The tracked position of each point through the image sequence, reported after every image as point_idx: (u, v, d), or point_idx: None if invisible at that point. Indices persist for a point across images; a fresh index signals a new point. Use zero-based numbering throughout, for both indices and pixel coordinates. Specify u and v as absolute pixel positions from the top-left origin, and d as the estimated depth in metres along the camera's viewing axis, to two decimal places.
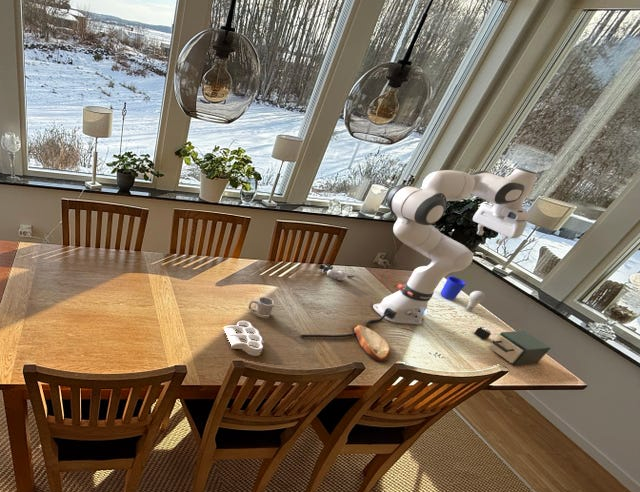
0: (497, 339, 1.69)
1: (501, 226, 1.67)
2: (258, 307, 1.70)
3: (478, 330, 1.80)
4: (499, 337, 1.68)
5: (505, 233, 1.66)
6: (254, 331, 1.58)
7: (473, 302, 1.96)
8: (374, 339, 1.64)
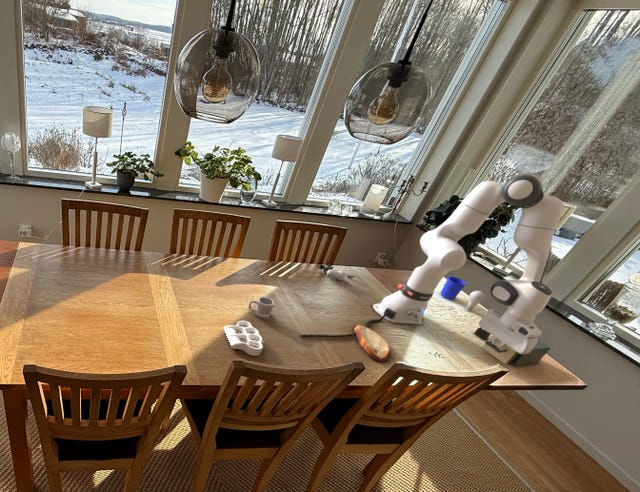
0: (490, 339, 1.68)
1: (510, 338, 1.57)
2: (258, 307, 1.70)
3: (478, 330, 1.80)
4: None
5: (514, 347, 1.56)
6: (254, 331, 1.58)
7: (473, 302, 1.96)
8: (374, 339, 1.64)
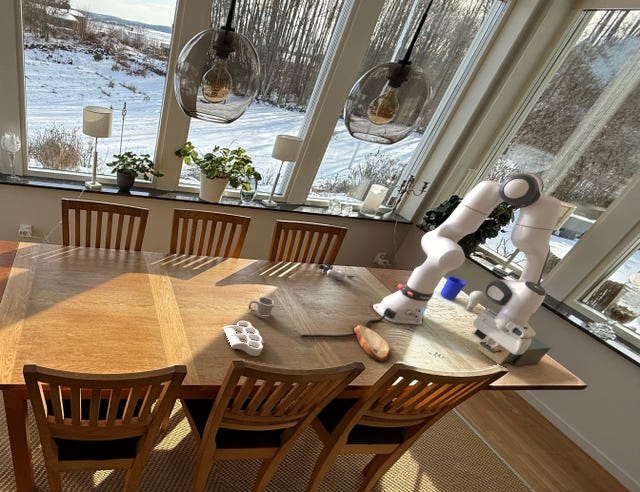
0: (485, 340, 1.67)
1: (504, 339, 1.56)
2: (258, 307, 1.70)
3: (478, 330, 1.80)
4: None
5: (508, 347, 1.55)
6: (254, 331, 1.58)
7: (473, 302, 1.96)
8: (374, 339, 1.64)
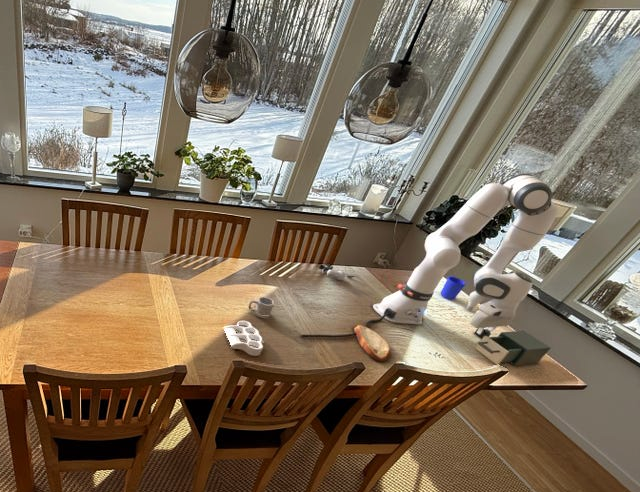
0: (483, 340, 1.67)
1: None
2: (258, 307, 1.70)
3: None
4: (485, 338, 1.66)
5: None
6: (254, 331, 1.58)
7: (473, 302, 1.96)
8: (374, 339, 1.64)
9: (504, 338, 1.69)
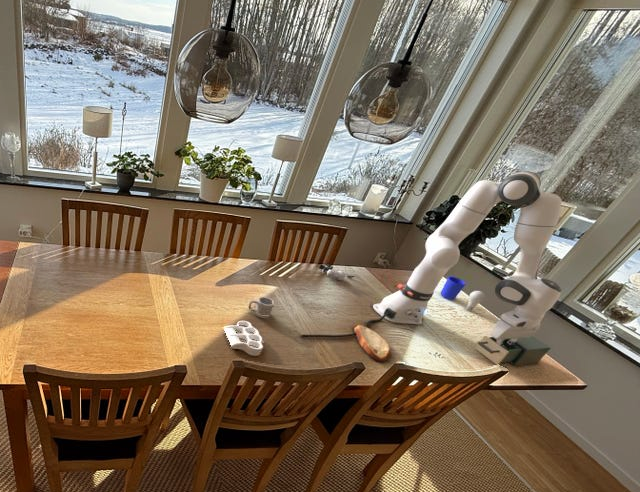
0: (483, 340, 1.67)
1: None
2: (258, 307, 1.70)
3: None
4: (485, 338, 1.66)
5: None
6: (254, 331, 1.58)
7: (473, 302, 1.96)
8: (374, 339, 1.64)
9: None
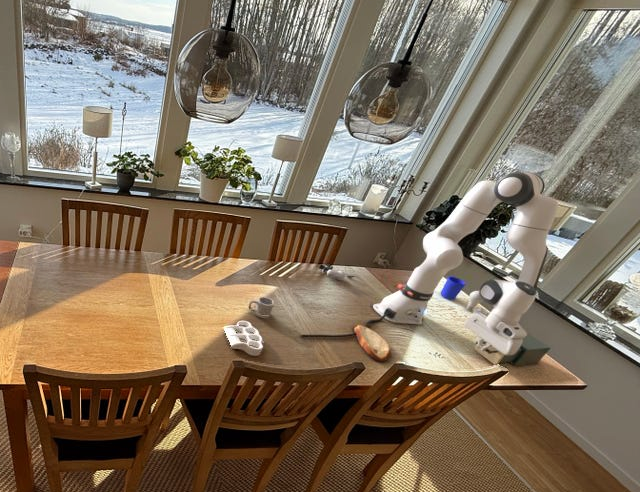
0: None
1: (495, 339, 1.55)
2: (258, 307, 1.70)
3: None
4: None
5: (499, 348, 1.53)
6: (254, 331, 1.58)
7: (473, 302, 1.96)
8: (374, 339, 1.64)
9: None
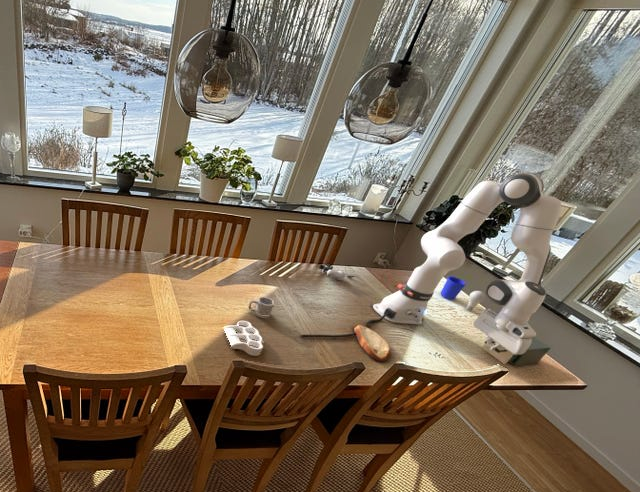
0: None
1: (504, 339, 1.56)
2: (258, 307, 1.70)
3: None
4: None
5: (508, 348, 1.55)
6: (254, 331, 1.58)
7: (473, 302, 1.96)
8: (374, 339, 1.64)
9: None
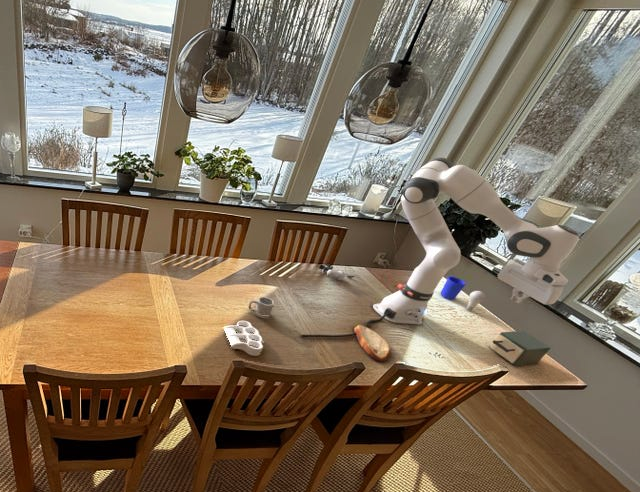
0: (498, 339, 1.69)
1: (533, 288, 1.46)
2: (258, 307, 1.70)
3: None
4: (500, 337, 1.69)
5: (537, 297, 1.44)
6: (254, 331, 1.58)
7: (473, 302, 1.96)
8: (374, 339, 1.64)
9: None
